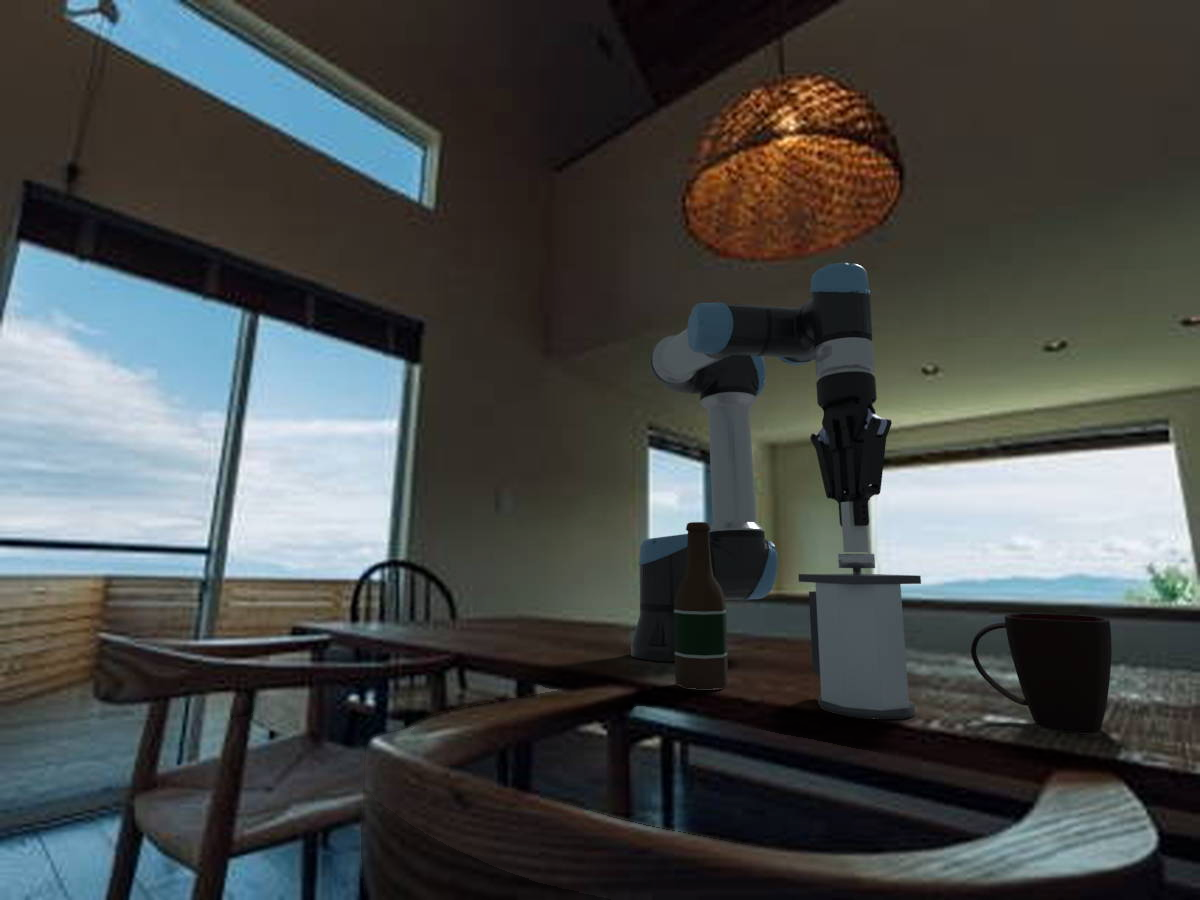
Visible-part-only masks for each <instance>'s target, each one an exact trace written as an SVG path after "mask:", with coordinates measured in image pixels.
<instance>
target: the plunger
mask: <svg viewBox="0 0 1200 900" xmlns="http://www.w3.org/2000/svg"><path fill="white" fill-rule="evenodd" d="M837 557H838V559H837V560H838V569H852V574H853V575H861V574H862V569H876V559H875V553H838V554H837Z"/></svg>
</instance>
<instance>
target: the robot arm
mask: <svg viewBox="0 0 1200 900" xmlns="http://www.w3.org/2000/svg"><path fill="white" fill-rule="evenodd" d="M810 280H811V282H810V289H809V293H810V295H811V297H810V299H809V300H807V302H805V303H804V304H803V305H802V306H801V307H788V306H787V307H786V306H772V305H771V306H767V305H752V304H751V305H750V304H737V303H724V302H720V301H715V302H698V303H697V304H695V305H694V306H693V307H692V309H691V313H690V314H689V317H688V321H687V327H686V328H685V329H684V330H683V331H681V332H680V333H678V334H676V335H675V334H673V335H668V336H666V337H664V338H662V339H661V340H660V341H658V342H657V343H656V344H655V345H654V346H653V348H652V349H651V352H650V354H649V361H648V362H649V364H648V365H649V368H650V371H651V373H652V374H651V375H652V376H653V378H654V379H655V380H656V381H657V382H658V383H659V384H661V385H662V386H663V387H665V388H667V389H669V390H671V391H674V392H678V393H682V394H695V395H699V396H700V397H699V399H700V400H699V401H700V402H699V404H700V406H702V407H703V408H704V409H705V410H706V411H707V415H708V416H707V420H708V437H709V441H708V442H709V460H710V462H709V463H710V481H711V482H710V483H711V484H710V485H711V487H710V488H711V506H712V524H711V525H710V529H711V530H710V531H709V542H710V553H711V565H712V570H713V575H714V577H715V579H716V580H717V582H718V583H719V585H720V586H721V589H722V591H723V594H724V597H725V601H726V600H727V601H730V600H732V601H735V600H736V601H739V600H740V601H748V600H759V599H760V600H761V599H764V598H765V597H766V596H768V595H769V594H770V593H771V591H772V589H773V587H774V586H775V583H776V580H777V574H778V566H779V558H778V556H779V555H778V552H777V550H776V546H775V544H774V543H773V542H772V541H771V540H769V539H766V537H765V536H766V535H765V534H766V533H765V530H764V528H762V527H761V525H759V524H758V522H757V518H756V517H757V515H756V514H757V513H756V500H755V499H756V498H755V481H754V480H755V479H754V463H753V448H752V446H753V445H752V431H751V428H752V427H751V414H750V413H751V412H750V409H751V408H752V406H753V405H754V404H756V402H757V396H760V394H761V393H762V392H763V391H764V390H763V389H764V388H765V379H766V363H765V359H764V357H769V358H770V357H771V358H777V359H778V360H780V361H782V362H783V363H785V364H787V365H788V366H795V367H796V366H803V365H805V364H807V363H809V362H812V361H815V375H816V377H817V378H818V380H817V381H816V382H815V384H816V400H817V405H818V406H819V408H821V409H822V412H823V416H822V421H821V426H822V427H821V429H819V431H818V433H815V432H814V433H811V434H810V438H809V439H810V442H811V444H812V445H813V447H814V449H815V452H816V456H817V460H818V465H819V469H820V474H821V479H822V484H823V487H824V493H825V495H826V498H827V499H832V500H834V501H836V502H837V503H838V517H839V524H840V527H841V530H842V545H843V553H869V541H868V540H869V539H868V527H869V524H870V514H869V501H870V500H871V498H872V497H874V496H878V495H880V493H881V490H882V489H881V488H882V481H883V471H884V465H885V464H884V463H885V462H884V461H885V454H886V445H887V437H888V434H889V432H890V430H891V427H892V420H891V419H890V418H885V417H881V416H879V415H877V414H876V409H875V407H874V403H876V401H877V399H878V398H877V383H876V377H875V375H874V374H873V373H874V372H875V371H876V366H875V355H874V344H873V327H872V325H873V324H872V309H871V308H872V307H871V291H870V288H869V281H868V273H867V270H866V269H865V268H864V267H863V266H862V265H859V264H857V263H852V262H838V263H831V264H828V265H826V266H823V267H821V268H819V269H817V270H816V271H815V272H814V273H813V274H812V276H811V279H810ZM687 542H688V533H684V534H674V535H667V536H660V537H651V538H646V539H644V540H643V541H642V542H641V543H640V548H639V557H638V558H639V559H638V560H639V561H638V565H639V617H638V620H637V624H636V627H635V631H634V634H633V636H632V639H631V640H632V641H631V644H630V655H631V657H633V658H635V659H639V660H645V661H653V662H672V663H673V662H674V663H675V638H674V602H675V595H676V592H677V589H678V586H679V585H680V583H681V581H682V580H683V578H684V577H685V572H686V566H687Z"/></svg>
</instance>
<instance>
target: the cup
mask: <svg viewBox="0 0 1200 900" xmlns="http://www.w3.org/2000/svg"><path fill="white" fill-rule="evenodd" d="M999 629H1006V630H1005V631H1006V635H1007V636H1006V637H1007V641H1008V646H1009V650H1010V653H1011V658H1012V662H1013V666H1014V669H1015V671H1016V676H1017V679H1018V681H1019V685H1020V689H1021V691H1022V695H1023V697H1024V699H1023V698H1021V697H1018V696H1017V695H1014V694H1013V693H1011V692H1010V691H1008V690H1007V689H1005V688H1004V687H1002V686H1001V685H1000V683H998V682H996V681H995V680H994V679H993V677H991V676H990V675H989V674H988V673H987V671H986V670H985V669H984V667H983V666H982V664H981V662H980V659H979V657H978V655H977V648H978V643H979V641H980V639H981V638H982V637H983V636H985V635H986V634H987V633H989V632H992V631H994V630H999ZM1111 629H1112V627H1111V621H1110V619H1109V618H1106V617H1103V616H1102V617H1100V616H1093V615H1078V614H1077V615H1075V614H1057V613H1056V614H1055V613H1054V614H1053V613H1026V612H1025V613H1023V612H1022V613H1021V612H1018V613H1017V612H1016V613H1009V614H1008V613H1007V614H1005V615H1004V622H997V623H991V624H990V625H988V626H985V627H983V628H982V629H980V630H979V631H978V632H976V634H975V636H974V637H973V638H972V642H971V647H970V654H971V659H972V661H973V663H974V666H975V667H976V669H977V671H978V673H979V674H980V675H981V676H982V678H983V679H984V680H985V681H986V682H987V683H988V684H989V685H990V686H991V687H992V688H993V689H994V690H996V691H998V692H999V693H1000V694H1001V695H1003V696H1004V697H1006V698H1007V699H1009V700H1010V701H1012V702H1014V703H1016V704H1018V705H1021V706H1027V708H1028V709H1029V710H1028V711H1029V712H1030V714H1031V717H1032V720H1033V721H1034V723H1035V724H1036V725H1037V726H1038V727H1039V728H1041V729H1046V730H1052V731H1058V732H1065V733H1074V734H1084V735H1094V734H1095V735H1096V734H1097V733H1099V732H1100V731H1101V729H1102V726H1103V723H1104V718H1105V714H1106V710H1107V704H1108V698H1109V690H1110V689H1109V687H1110V680H1111V669H1112V656H1113V655H1112V654H1113V653H1112V651H1113V648H1112V645H1113V644H1112V630H1111Z"/></svg>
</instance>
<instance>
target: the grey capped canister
mask: <svg viewBox="0 0 1200 900" xmlns="http://www.w3.org/2000/svg"><path fill="white" fill-rule="evenodd" d="M921 578H922V576H921V575H915V574H913V575H912V574H911V575H909V574H882V573H881V574H878V573H876V574H875V573H861V575H853V573H802V574H801V573H798V583H800V582H801V583H814V584H815V591H814V590H813V591H810V590H809V591H808V599H809V600H808V601H809V617H810V643H811V661H812V663H811V665H812V674H814V675H815V674H816V675H819V676H820V677H819V678H820V695H818V696H817V701H818V703H817V704H819V706H820V707H822V708H824V709H826V710H828V711H831V712H834V713H837V714H840V715H839V716H841V715H844V716H843V717H846V716H848V718H852V717H856V718H855V719H860V718H863V719H862V720H871V718H875V719H877V718H878V719H898V720H903V719H902V718H906V719H909V718H908V717H910V718H912V716H913V717H914V716H915V715H916V707H915V705H916V704H915V703H914V702H913V701H911V700H910V698H909V685H908V684H909V683H908V682H909V681H908V670H907V668H908V667H907V656H906V642H905V631H904V630H905V629H904V628H905V627H904V626H905V625H904V616H903V601H902V589H901V587H902V586H901V585H918V584H919V585H922V579H921ZM819 706H818V707H819ZM868 718H870V719H868Z"/></svg>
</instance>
